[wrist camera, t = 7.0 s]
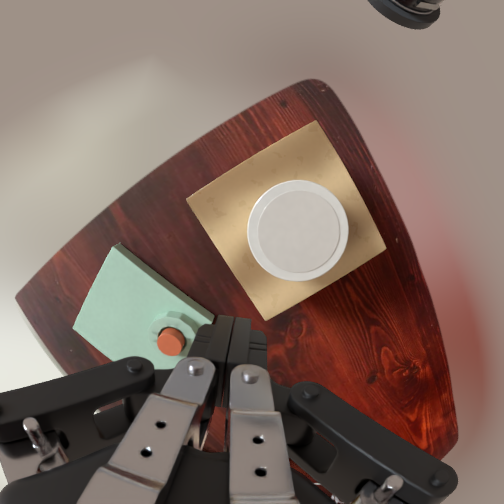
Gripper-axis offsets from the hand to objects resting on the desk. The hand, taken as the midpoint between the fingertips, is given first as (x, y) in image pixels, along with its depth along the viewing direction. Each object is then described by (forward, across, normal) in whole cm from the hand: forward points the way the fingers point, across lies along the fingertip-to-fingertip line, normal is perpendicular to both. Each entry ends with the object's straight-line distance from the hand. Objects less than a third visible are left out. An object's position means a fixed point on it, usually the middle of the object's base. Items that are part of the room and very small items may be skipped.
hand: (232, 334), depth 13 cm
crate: (+19, -3, -4) cm, 19 cm away
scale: (+18, +12, +11) cm, 25 cm away
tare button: (+15, +7, +11) cm, 20 cm away
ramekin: (+9, -3, -4) cm, 10 cm away
